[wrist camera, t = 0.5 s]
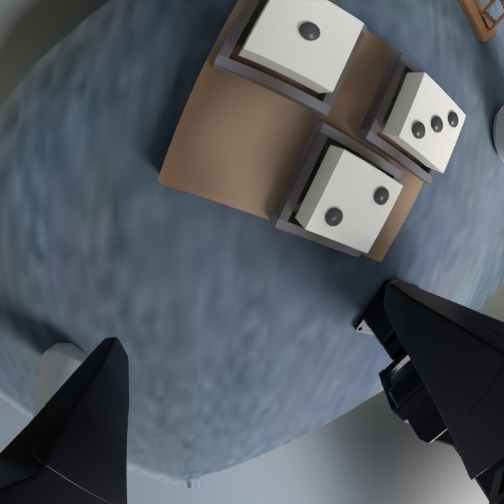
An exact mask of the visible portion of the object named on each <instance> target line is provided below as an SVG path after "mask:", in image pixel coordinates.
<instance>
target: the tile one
mask: <svg viewBox="0 0 504 504" xmlns="http://www.w3.org/2000/svg"><path fill="white" fill-rule="evenodd" d="M363 25H364V23H363V22H361V21H360V20H358V19H357V18H355V17H354V16H352V15H351V14H349V13H348V12H346V11H344V10H343V9H341V8H339V7H338V6H336V5H334V4H333V3H331V2H329V1H328V0H268V1H267V3H266V5H265V7H264V8H263V10H262V12H261V14H260V15H259V17H258V19H257V21H256V23H255V24H254V26H253V28H252V30H251V32H250V34H249V36H248V37H247V39H246V41H245V43H244V45H243V47H242V49H241V51H240V53H239V56H241V57H244V58H246V59H249V60H251V61H254V62H256V63H258V64H261V65H263V66H265V67H267V68H270V69H272V70H274V71H276V72H278V73H280V74H283V75H285V76H287V77H289V78H291V79H293V80H295V81H297V82H299V83H301V84H303V85H305V86H306V87H308V88H310V89H312V90H314V91H316V92H318V93H328V92H333V90H334V88H335V86H336V84H337V82H338V80H339V77H340V75H341V73H342V71H343V69H344V67H345V64H346V62H347V60H348V58H349V56H350V54H351V51H352V49H353V47H354V45H355V43H356V40H357V38H358V36H359V34H360V32H361V30H362V27H363Z"/></svg>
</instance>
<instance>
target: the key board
mask: <svg viewBox="0 0 504 504" xmlns="http://www.w3.org/2000/svg"><path fill="white" fill-rule="evenodd" d="M267 1H268V0H238V2H237V4H236V5H235V7H234V9H233V10H232V12H231V14H230V16H229V17H228V19H227V21H226V23H225V25H224V27H223V28H222V30H221V32H220V34H219V36H218V38H217V40H216V42H215V44H214V45H213V47H212V49H211V51H210V53H209V55H208V57H207V60H206V62H205V64H204V66H203V68H202V70H201V72H200V74H199V76H198V79H197V81H196V83H195V85H194V87H193V90H192V92H191V94H190V96H189V99H188V101H187V103H186V106H185V108H184V111H183V113H182V116H181V118H180V120H179V123H178V125H177V128H176V131H175V133H174V136H173V138H172V141H171V144H170V146H169V149H168V152H167V155H166V157H165V160H164V163H163V166H162V169H161V172H160V175H159V178H158V181H157V183H160V184H163V185H166V186H169V187H173V188H176V189H179V190H182V191H185V192H188V193H191V194H194V195H197V196H200V197H203V198H206V199H209V200H212V201H215V202H218V203H221V204H224V205H227V206H230V207H233V208H236V209H239V210H242V211H245V212H248V213H251V214H253V215H256V216H259V217H262V218H265V219H268V220H270V221H271V223H272V224H273V226H274V227H275V228H277V229H280V230H283V231H286V232H289V233H292V234H294V235H297V236H300V237H303V238H306V239H308V240H311V241H314V242H317V243H319V244H322V245H325V246H328V247H330V248H333V249H336V250H338V251H341V252H344V253H346V254H349V255H352V256H354V257H357V258H359V257H360V255H364V256H367V257H369V258H372V259H374V260H377V261H379V262H382V260H383V258H384V257H385V255H386V253H387V251H388V250H389V248H390V246H391V244H392V243H393V241H394V239H395V237H396V236H397V234H398V232H399V230H400V228H401V226H402V224H403V223H404V221H405V219H406V217H407V215H408V213H409V211H410V209H411V207H412V205H413V203H414V201H415V199H416V197H417V195H418V193H419V191H420V189H421V187H422V185H423V183H424V182H426V183H428V184H430V183H431V181H432V178H433V176H434V174H435V172H436V170H434V169H431V168H429V167H427V166H425V165H424V164H423V163H422V162H420V161H419V160H418V159H417V158H415V157H414V156H413V155H412V154H410V153H409V152H408V151H407V150H405V149H404V148H403V147H401V146H400V145H399V144H397V143H396V142H395V141H393V140H392V139H390V138H389V137H388V136H386V135H385V134H383V133H382V132H383V130H384V127H385V125H386V123H387V121H388V118H389V116H390V114H391V111H392V109H393V107H394V104H395V102H396V100H397V97H398V95H399V92H400V90H401V87H402V85H403V83H404V80H405V78H406V75H407V73H418V72H423V71H422V70H421V69H419V68H418V67H417V66H416V65H415V64H414V63H413V62H412V61H410V60H409V59H408V58H407V57H406V56H405V55H403V54H398V53H397V52H396V51H395V50H393V49H392V48H391V47H390V46H388V45H387V44H386V43H384V42H383V41H382V40H380V39H379V38H378V37H376V36H375V35H374V34H372V33H371V32H369V31H368V30H367V28H368V27H367V26H366V25H363V27H362V30H361V32H360V34H359V36H358V38H357V40H356V43H355V45H354V47H353V49H352V51H351V54H350V56H349V58H348V60H347V62H346V64H345V67H344V69H343V71H342V73H341V75H340V77H339V80H338V82H337V84H336V86H335V88H334V90H333V92H328V93H318V92H316V91H314V90H312V89H310V88H308V87H306V86H305V85H303V84H301V83H299V82H297V81H295V80H293V79H291V78H289V77H287V76H285V75H283V74H280V73H278V72H276V71H274V70H272V69H270V68H267V67H265V66H263V65H261V64H258V63H256V62H254V61H251V60H249V59H246V58H244V57H241V56H239V53H240V51H241V49H242V47H243V45H244V43H245V41H246V39H247V37H248V36H249V34H250V32H251V30H252V28H253V26H254V24H255V23H256V21H257V19H258V17H259V15H260V14H261V12H262V10H263V8H264V7H265V5H266V3H267ZM330 145H332V146H335V147H339V148H342V149H344V150H346V151H348V152H350V153H351V154H353V155H355V156H357V157H358V158H360V159H362V160H363V161H365V162H367V163H368V164H370V165H372V166H373V167H375V168H376V169H378V170H380V171H381V172H383V173H384V174H386V175H387V176H389V177H391V178H392V179H394V180H395V181H397V182H398V183H400V184H401V185H403V188H402V190H401V192H400V194H399V196H398V198H397V200H396V202H395V204H394V206H393V208H392V210H391V211H390V213H389V215H388V217H387V219H386V221H385V223H384V225H383V227H382V228H381V230H380V232H379V234H378V236H377V238H376V239H375V241H374V243H373V245H372V247H371V248H370V250H369V252H368V254H367V253H365V252H362V251H360V250H357V249H355V248H352V247H350V246H347V245H345V244H342V243H340V242H337V241H335V240H332V239H329V238H327V237H324V236H322V235H319V234H316V233H314V232H311V231H308V230H306V229H304V227H303V226H302V225H301V224H300V223H299V222H298V220H297V219H296V218H295V217H296V215H297V213H298V211H299V209H300V207H301V205H302V203H303V201H304V199H305V197H306V194H307V192H308V190H309V188H310V186H311V184H312V182H313V180H314V178H315V176H316V174H317V172H318V169H319V167H320V165H321V163H322V161H323V159H324V157H325V155H326V153H327V150H328V148H329V146H330Z"/></svg>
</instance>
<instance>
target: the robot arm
mask: <svg viewBox="0 0 504 504" xmlns="http://www.w3.org/2000/svg"><path fill="white" fill-rule="evenodd" d="M355 330H356V332H358V333H364V334H370V335H375V337H376V338H377V339H378V341H379V342H380V344H381V345H382V346H383V347H384V349H385V350H386V352H387V353H388V355H389V356H390V358H391V359H392V360H393V362H392V363H391V364H390V365H389V366H388V367H387V368H385V369H384V370H382V371H381V372H380V373H379V376H380V379H381V383H382V386H383V388H384V391H385V393H386V396H387V399H388V401H389V404H390V407H391V409H392V412H393V414H394V415H396V416H399V417H400V418H401V419H402V420H404V421H405V422H407V423H410V424H411V426H412V428H413V429H414V431H415V433H416V434H417V436H418V438H419V439H421V440H423V441H425V442H427V443H431V442H432V441H433V440H435V441H438V442H441V443H445V444H448V445H452V446H453V447H454V448H455V450H456V451H457V452H458V454H459V455H460V456H461V459H462V461H463V463H464V465H465V468H466V470H467V472H468V475H469V477H470V479H471V480H472V479H473V478H475V479H476V481H477V483H478V484H479V486H480V487H481V489H482V490H483V492H484V494H485V495H486V497H487V498H488V500H489V502H490V503H489V504H504V322H502V321H499V320H497V319H494V318H491V317H489V316H487V315H484V314H481V313H479V312H477V311H475V310H472V309H470V308H467V307H465V306H462V305H460V304H457V303H455V302H452V301H450V300H447V299H445V298H442V297H440V296H437V295H435V294H432V293H430V292H427V291H425V290H422V289H420V288H417V287H415V286H412V285H409V284H407V283H404V282H402V281H399V280H396V281H393V280H390V279H388V280H386V281H385V283H384V284H383V286H382V287H381V289H380V290H379V292H378V293H377V295H376V297H375V298H374V300H373V301H372V303H371V304H370V306H369V307H368V308H367V310H366V311H365V313H364V314H363V316H362V317H361V319H360V320H359V321H358V323H357V324H356V326H355ZM128 411H129V369H128V356H127V353H126V352H125V350H124V348H123V346H122V344H121V343H120V341H119V339H118V338H117V337H110V338H105V339H104V340H103V341H102V342H101V343H100V344H99V345H98V346H97V347H96V349H95V350H94V351H93V352H92V353H91V354H90V355H89V356H88V357H87V358H86V359H85V360H84V362H83V363H82V364H81V365H80V366H79V367H78V368H77V369H76V370H75V371H74V373H73V374H72V375H71V376H70V377H69V378H68V379H67V380H66V382H65V383H64V384H63V385H62V386H61V387H60V388H59V389H58V391H57V392H56V393H55V394H54V395H53V396H52V397H51V399H50V400H49V401H48V402H47V403H46V404H45V407H43V408H42V409H41V410H40V411H39V413H38V414H37V415H36V416H35V417H34V418H33V419H32V421H31V422H30V423H29V424H28V425H27V426H26V427H25V428H24V429H23V430H22V431H21V432H20V433H19V434H18V435H17V436H16V437H15V438H14V439H13V441H11V442H10V443H9V445H8V446H7V447H6V448H5V449H4V450H3V451H2V452H1V453H0V504H127V478H126V462H127V428H128Z"/></svg>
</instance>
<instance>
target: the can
mask: <svg viewBox="0 0 504 504" xmlns="http://www.w3.org/2000/svg"><path fill="white" fill-rule="evenodd" d="M493 139H494V145H495V148H496V151H497V152H498V155H499V157H500V159H501V161H502V162H503V163H504V105H503V106H502V107H501V109H500V110H499V111H498V112H497V114H496V116H495V119H494V125H493Z"/></svg>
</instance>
